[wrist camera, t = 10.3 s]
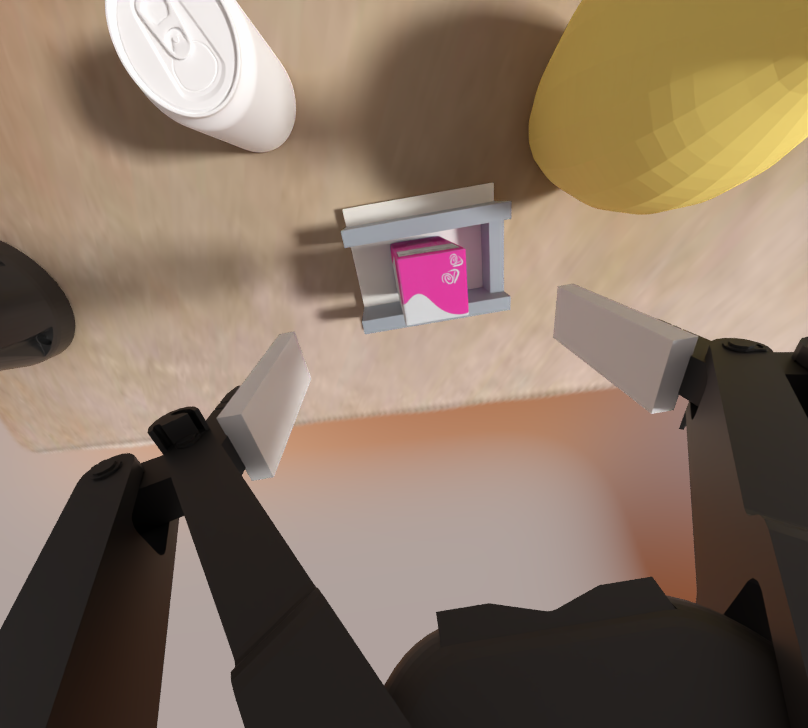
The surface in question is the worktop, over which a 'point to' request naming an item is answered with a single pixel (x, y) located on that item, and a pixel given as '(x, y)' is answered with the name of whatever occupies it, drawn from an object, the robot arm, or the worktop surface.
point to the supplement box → (430, 279)
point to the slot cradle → (422, 218)
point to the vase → (670, 99)
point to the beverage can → (205, 68)
